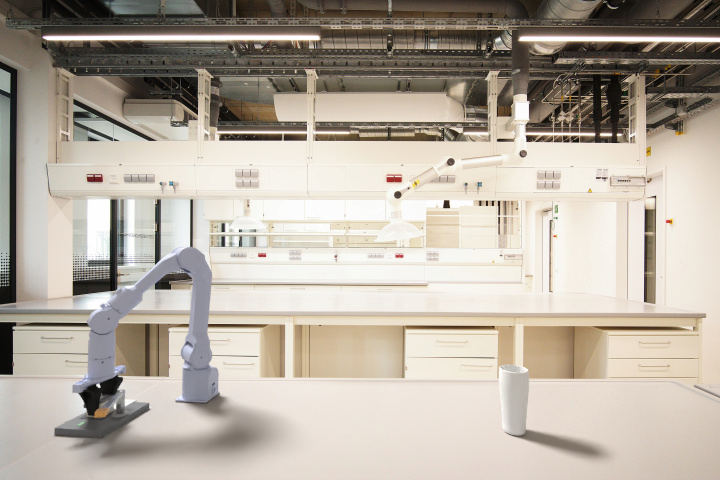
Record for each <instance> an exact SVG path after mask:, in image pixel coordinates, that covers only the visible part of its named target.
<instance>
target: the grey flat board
mask: <svg viewBox="0 0 720 480" xmlns="http://www.w3.org/2000/svg"><path fill="white" fill-rule="evenodd" d="M149 409H150V402H143V401H141V402H140V401H138V399H127V398H125V412H124V413H122V414H116V403H115V404H114V411H112V412H110V413H109V414H107V415H106V416H105V417H101V418H99V417H98V418H95V417H86V411H85V412H83V413H82V414H79V415H77V416H75V417H74V418H71V419H69V420H68V421H65V422H64V423H61V424H60V425H57V426H55V427H54V431H53V433H54V435H55V436H56V435H59V436H72V437H82V438H83V437H84V438H95V439H96V438H97V439H102V438H104V437H105V436H107V435H108V434H110V433H112V432H114V431H115V430H117V429H118V428H120V427H122V426H123V425H124V424H126V423H128V422H130V421H131V420H133V419H135V418H136V417H138V416H139V415H141V414H142V413H144V412H146V411H147V410H149Z"/></svg>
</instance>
